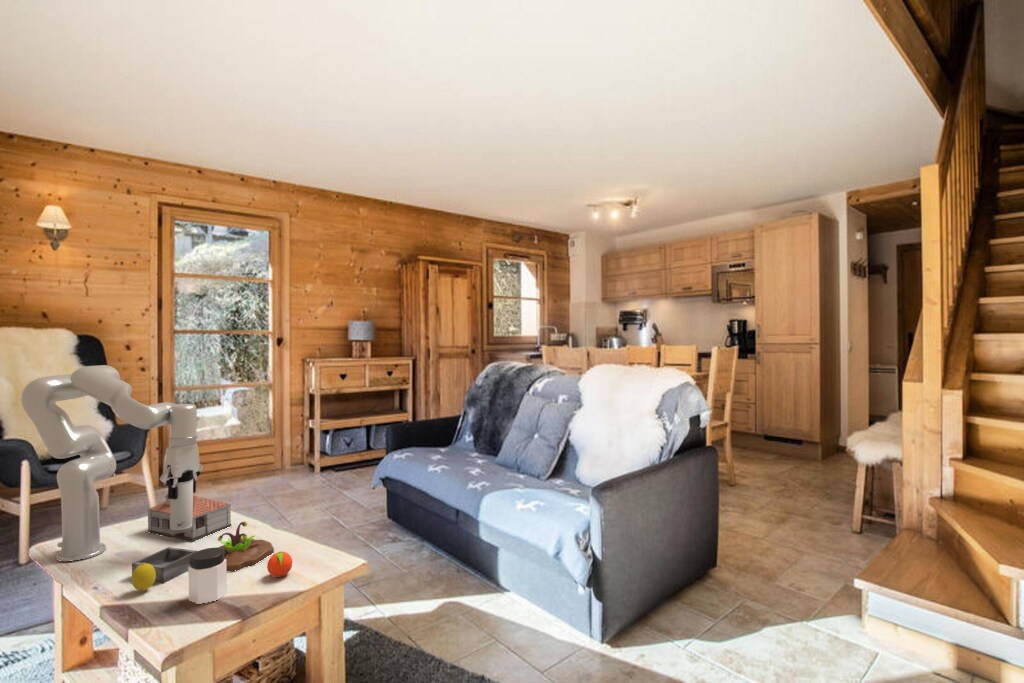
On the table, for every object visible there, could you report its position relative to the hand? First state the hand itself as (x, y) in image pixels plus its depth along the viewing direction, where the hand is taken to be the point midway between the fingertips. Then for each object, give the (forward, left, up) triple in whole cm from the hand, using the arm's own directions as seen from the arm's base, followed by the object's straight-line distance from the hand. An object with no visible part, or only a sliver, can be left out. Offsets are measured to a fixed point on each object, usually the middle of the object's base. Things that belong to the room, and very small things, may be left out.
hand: (182, 495), depth 171 cm
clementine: (+44, -7, -19) cm, 48 cm away
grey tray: (+8, -13, -19) cm, 24 cm away
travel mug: (0, 0, -12) cm, 12 cm away
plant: (+21, +1, -20) cm, 29 cm away
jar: (+33, -22, -19) cm, 44 cm away
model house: (-15, +16, -19) cm, 29 cm away
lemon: (+12, -24, -19) cm, 33 cm away
